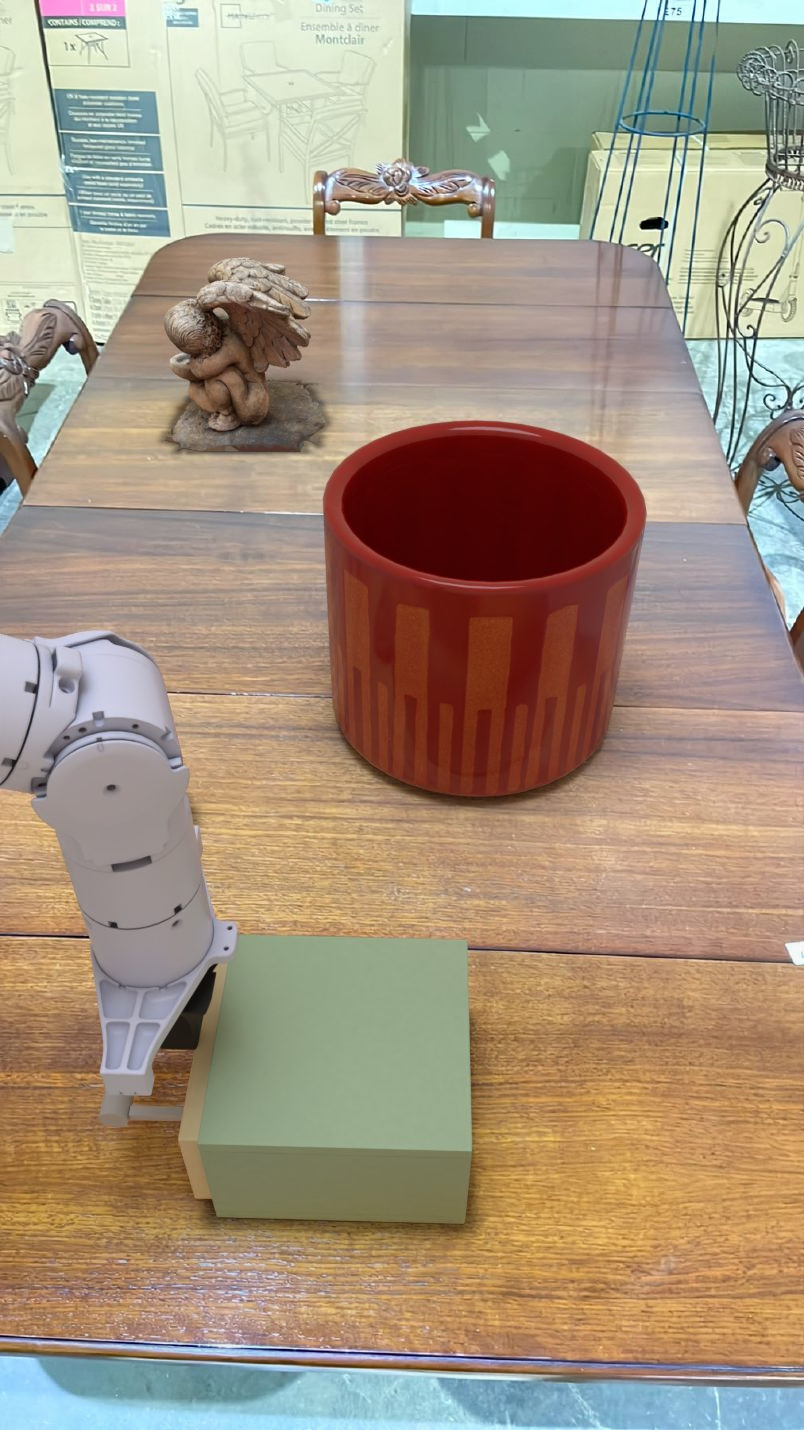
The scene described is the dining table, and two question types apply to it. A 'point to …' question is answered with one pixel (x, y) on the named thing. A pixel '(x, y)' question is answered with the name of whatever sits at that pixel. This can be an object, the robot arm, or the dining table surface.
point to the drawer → (121, 1108)
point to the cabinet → (341, 1081)
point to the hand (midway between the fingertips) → (180, 1038)
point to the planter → (478, 602)
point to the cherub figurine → (242, 361)
